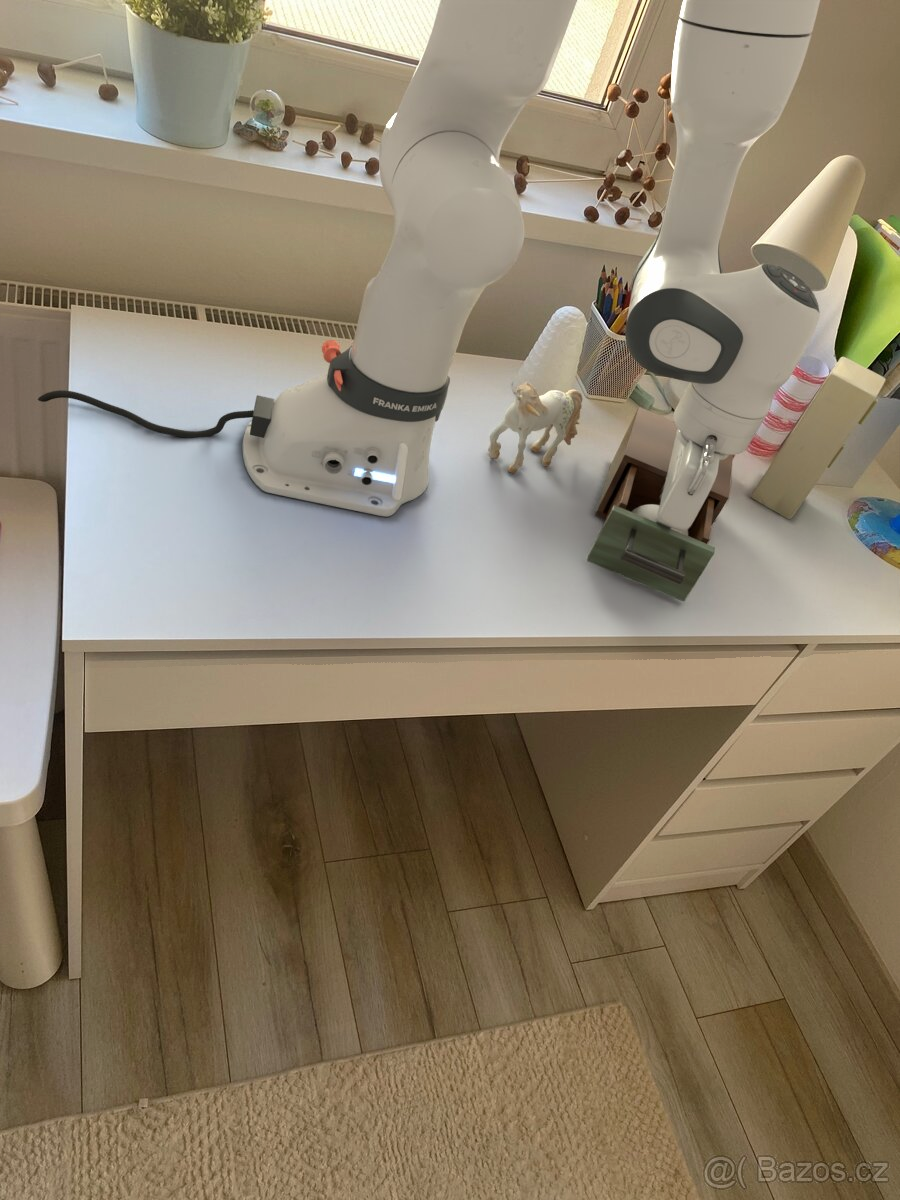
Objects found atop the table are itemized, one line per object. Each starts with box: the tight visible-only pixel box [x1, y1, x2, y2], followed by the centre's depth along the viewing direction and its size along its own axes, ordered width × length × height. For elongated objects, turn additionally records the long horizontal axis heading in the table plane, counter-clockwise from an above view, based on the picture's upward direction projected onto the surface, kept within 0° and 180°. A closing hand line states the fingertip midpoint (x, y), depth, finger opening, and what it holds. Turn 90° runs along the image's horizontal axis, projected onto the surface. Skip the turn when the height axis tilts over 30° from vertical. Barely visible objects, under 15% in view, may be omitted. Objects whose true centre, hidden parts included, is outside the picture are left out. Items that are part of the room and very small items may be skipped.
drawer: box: [586, 464, 716, 602], centre depth 107 cm, size 18×12×8 cm
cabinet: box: [594, 406, 734, 528], centre depth 118 cm, size 14×14×10 cm
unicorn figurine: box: [488, 381, 583, 474], centre depth 115 cm, size 7×20×13 cm, turn 147°
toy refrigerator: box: [750, 356, 886, 520], centre depth 126 cm, size 8×7×21 cm
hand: (661, 515), depth 107 cm, fingers open, 6 cm apart
